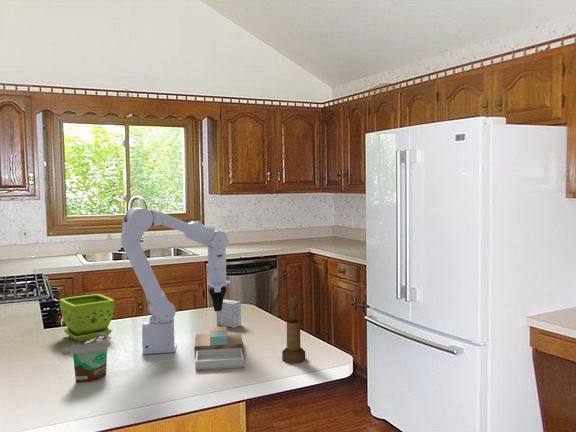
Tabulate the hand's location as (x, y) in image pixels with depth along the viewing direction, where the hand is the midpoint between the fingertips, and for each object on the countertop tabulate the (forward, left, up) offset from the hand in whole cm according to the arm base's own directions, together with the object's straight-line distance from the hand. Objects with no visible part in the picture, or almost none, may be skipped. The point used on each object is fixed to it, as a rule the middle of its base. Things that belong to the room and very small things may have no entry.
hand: (217, 310), depth 166 cm
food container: (-32, -26, -10) cm, 42 cm away
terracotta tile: (0, -8, -6) cm, 10 cm away
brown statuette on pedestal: (+21, -22, -10) cm, 32 cm away
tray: (0, -21, -10) cm, 24 cm away
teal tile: (0, -14, -6) cm, 15 cm away
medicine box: (+4, +18, -10) cm, 21 cm away
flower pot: (-43, +13, -10) cm, 46 cm away
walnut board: (0, -10, -10) cm, 14 cm away
